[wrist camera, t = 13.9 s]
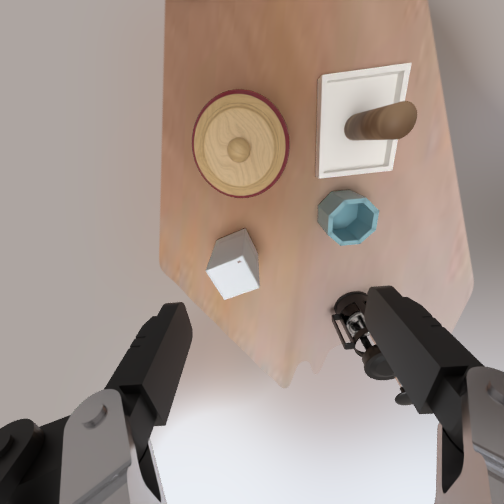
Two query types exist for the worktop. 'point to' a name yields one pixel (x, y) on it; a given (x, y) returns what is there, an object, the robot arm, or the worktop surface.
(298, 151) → the worktop surface
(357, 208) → the teal pot
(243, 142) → the canister
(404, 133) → the walnut peg
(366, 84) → the white tray
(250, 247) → the supplement box
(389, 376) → the french press
